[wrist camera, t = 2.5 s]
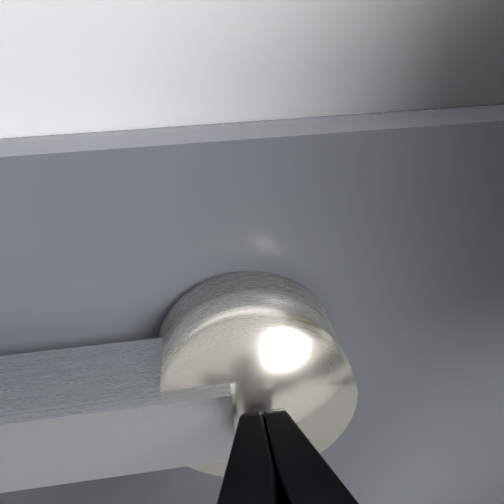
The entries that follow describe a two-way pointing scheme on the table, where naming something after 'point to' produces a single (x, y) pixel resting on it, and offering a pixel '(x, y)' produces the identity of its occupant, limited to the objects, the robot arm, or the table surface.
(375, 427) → the tuner board
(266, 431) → the robot arm
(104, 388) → the peg lever
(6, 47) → the table surface
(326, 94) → the table surface
